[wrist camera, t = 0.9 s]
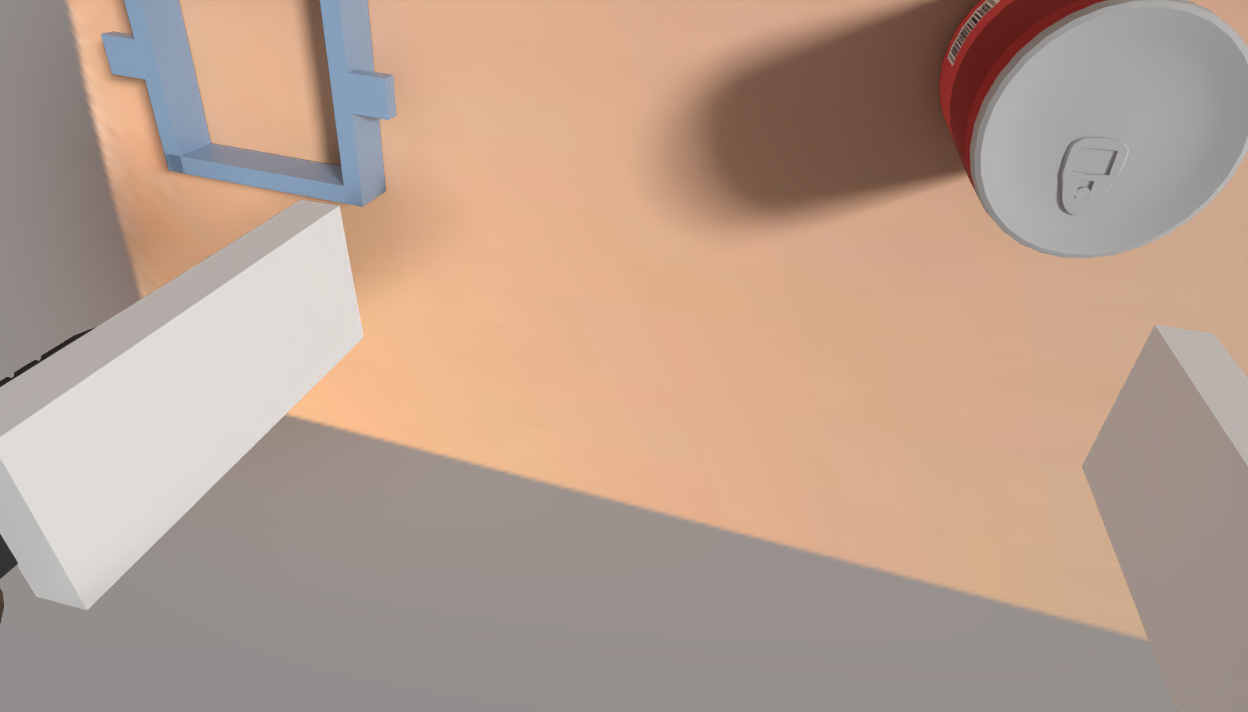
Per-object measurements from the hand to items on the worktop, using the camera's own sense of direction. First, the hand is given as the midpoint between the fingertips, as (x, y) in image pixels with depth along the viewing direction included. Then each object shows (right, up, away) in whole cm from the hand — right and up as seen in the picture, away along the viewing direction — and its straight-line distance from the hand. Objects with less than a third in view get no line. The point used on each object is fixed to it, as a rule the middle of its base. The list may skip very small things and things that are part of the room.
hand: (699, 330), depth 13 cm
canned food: (+16, +12, +19) cm, 28 cm away
